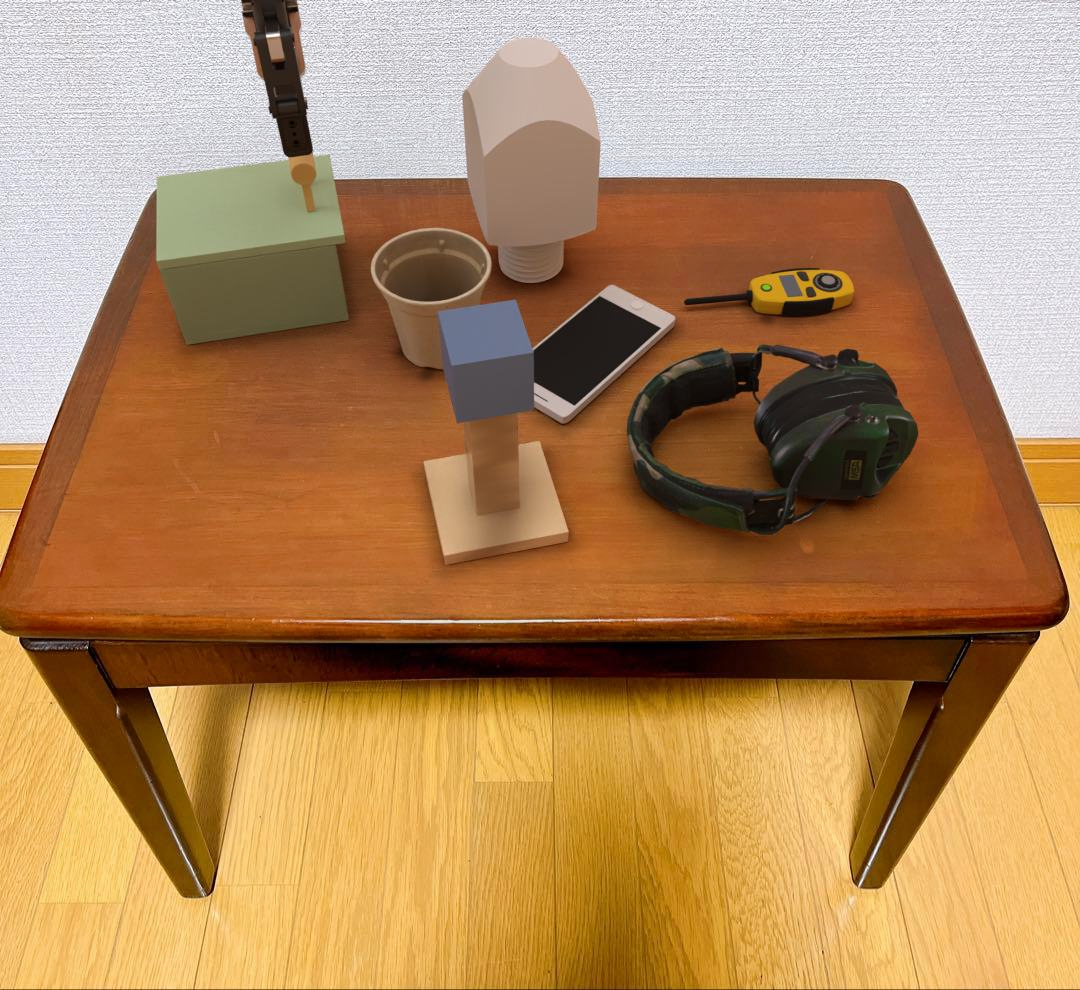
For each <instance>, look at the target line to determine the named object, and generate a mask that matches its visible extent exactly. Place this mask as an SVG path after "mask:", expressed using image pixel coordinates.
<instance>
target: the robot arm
mask: <svg viewBox="0 0 1080 990" xmlns="http://www.w3.org/2000/svg"><path fill="white" fill-rule="evenodd" d="M240 3H241V8H242V11H241V17H242V22H243V27H244V31H245V33H246V35H247V37H248V39H250V43H251V48H252V53H253V58H254V63H255V68H256V72H257V75H258V77H259V79H261V80H262V81H263V82H264V86H265V91H266V94H267V95H266V96H267V99H268V100H267V101H268V102H267V103H268V106H267V109H268V112H269V114H270V115H271V117H272V120H273V119H275V121H276V125H277V130H278V134H279V138H280V143H281V147H282V153H283V155H284V156H285V157H287V158H288V157H298V156H306V155H310V154H311V153H312V152H313V153H314V147H313V141H312V135H311V132H310V127H309V120H308V116H307V115H308V111H307V110H309V105H308V97H307V96H305V93H304V87H303V82H302V77H303V76H305V75H306V73H307V67H306V60H305V56H304V55H305V54H304V51H303V50H304V49H303V45H302V41H301V33H302V31H303V25H302V20H301V15H300V9H299V5H298V4H299V3H298V0H240Z"/></svg>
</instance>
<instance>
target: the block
mask: <svg viewBox="0 0 1080 990" xmlns="http://www.w3.org/2000/svg"><path fill="white" fill-rule="evenodd" d="M438 322H439V332H440V342H441V351H442V361H443V369H442V370H443V374H444V379H445V382H446V386H447V391H448V393H449V397H450V402H451V405H452V410H453V413H454V417H455V421H456V424H461V423H463V422H468V421H474V420H480V419H486V418H492V417H497V416H503V415H509V414H515V413H518V414H521V413H526V412H530V411H531V412H533V411H535V407H534V351H533V349H532V348H533V346H532V343H531V340H530V336H529V333H528V331H527V328H526V325H525V322H524V319H523V315H522V313H521V311H520V308H519V305H518V302H517V300H516V299H511V300H504V301H498V302H490V303H484V304H480V305H477V306H470V307H464V308H458V309H451V310H445V311H438Z"/></svg>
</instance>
